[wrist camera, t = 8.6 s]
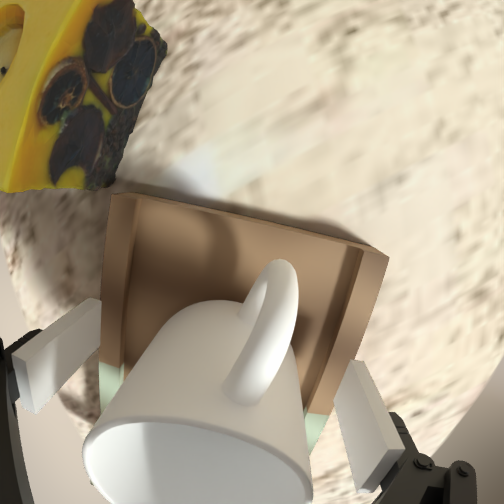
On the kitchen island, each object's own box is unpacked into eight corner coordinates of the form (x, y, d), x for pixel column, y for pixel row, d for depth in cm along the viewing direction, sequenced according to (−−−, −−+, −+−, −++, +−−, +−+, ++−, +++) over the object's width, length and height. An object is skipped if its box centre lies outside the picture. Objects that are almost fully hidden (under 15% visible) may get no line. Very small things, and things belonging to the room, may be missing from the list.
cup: (143, 381, 19) (77, 495, 9) (208, 208, 17) (128, 242, 7) (259, 428, 19) (252, 556, 10) (351, 272, 17) (437, 371, 7)
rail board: (131, 191, 19) (80, 197, 13) (373, 247, 19) (414, 274, 13) (116, 438, 23) (91, 484, 17) (283, 477, 23) (284, 530, 17)
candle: (12, 153, 18) (-90, 153, 9) (59, 29, 16) (-25, -19, 7) (114, 192, 19) (3, 207, 9) (173, 45, 17) (107, -42, 7)
